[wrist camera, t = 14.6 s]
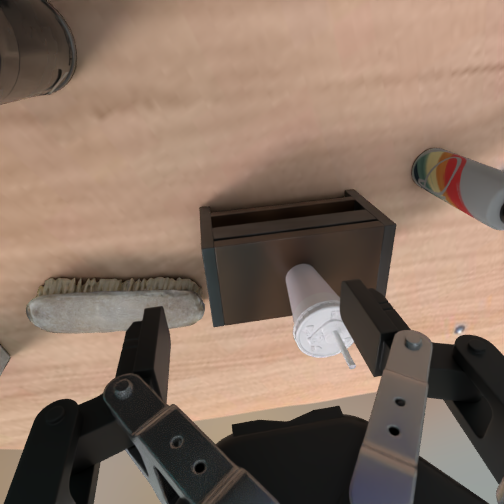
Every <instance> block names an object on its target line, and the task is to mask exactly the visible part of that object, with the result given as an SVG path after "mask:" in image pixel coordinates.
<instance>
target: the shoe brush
mask: <svg viewBox="0 0 504 504" xmlns="http://www.w3.org/2000/svg"><path fill="white" fill-rule="evenodd" d="M157 306H163V308H164V312H165V316H166V320H167V325H168V329H171V328H178V327H184V326H190V325H192V324H194V323H196V322H197V321H199V320H200V319H201V318H202V317H203V314H204V311H205V304H204V303H203V300H202V289H201V287H200V288H199V287H198V286H197V284H196V283H195V282H192V281H191V279H181V278H180V277H179V278H178V279H177V280H176V281H175V280H174V279H173V278H172V279H169V278H168V277H167V278H163V277H157V278H155V279H153V278H151V277H150V278H149V280H147V281H146V280H145V278H144V279H143V281H142V282H140V279H138V280H137V282H134V279H133V278H131V279H130V280H129V281H128V280H126V281H125V282H123V283H122V279H121V280H117V279H116V278H114V279H100V281H99V282H96V279H95V278H93V279H92V280H91V281H90V279H89V278H88V279H87V281H86V283H85V284H84V285H82V286H81V279H80V280H79V282H78V285H76V283H75V278H73V279H72V280H70V279H68V278H66V279H64V278H58V279H57V280H54V279H53V278H49V279H48V280H47V281H45V285H44V287H42V286H40V287H39V289H38V291H37V296H36V297H35V298H34V299H32V300H31V301H30V302H29V303H28V304H27V307H26V313H27V316H28V318H29V320H30V321H31V322H32V323H33V324H34V325H35V326H37V327H39V328H41V329H42V330H45V331H48V332H52V333H93V332H114V331H127V329H128V328H129V327H130V326H131V324H132V323H133V322H135V321H142V319H143V314H144V309H145V308H150V307H157Z"/></svg>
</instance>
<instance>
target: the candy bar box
mask: <svg viewBox="0 0 504 504" xmlns="http://www.w3.org/2000/svg"><path fill="white" fill-rule="evenodd" d="M10 358H11V357H10V355H9V354H8V353H7V351H6V350H5V349H4V348H3V347H2V346H1V345H0V375H1V374H2V372H3V370H4V368H5V367H6V365H7V363H8V362H9V360H10Z"/></svg>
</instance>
